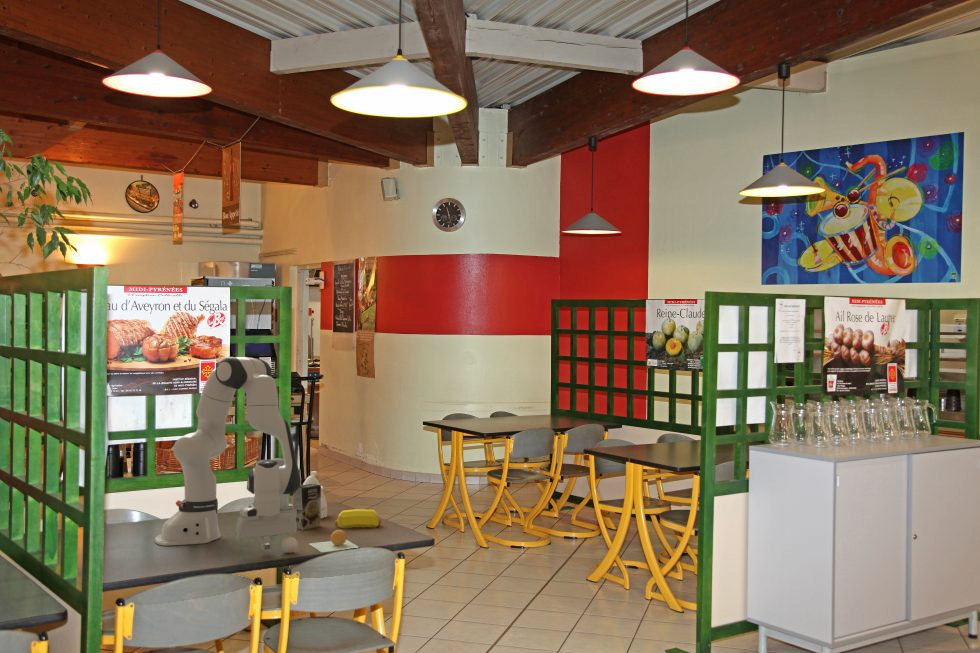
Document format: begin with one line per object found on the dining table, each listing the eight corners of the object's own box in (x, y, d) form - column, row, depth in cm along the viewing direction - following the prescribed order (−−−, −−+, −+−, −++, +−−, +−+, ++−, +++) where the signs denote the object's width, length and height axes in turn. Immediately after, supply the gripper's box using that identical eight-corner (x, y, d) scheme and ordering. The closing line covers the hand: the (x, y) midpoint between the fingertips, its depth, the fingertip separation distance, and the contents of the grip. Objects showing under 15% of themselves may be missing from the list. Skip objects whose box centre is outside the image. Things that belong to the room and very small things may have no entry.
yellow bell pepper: (381, 528, 346) (381, 524, 354) (381, 511, 346) (381, 507, 354) (334, 529, 343) (334, 525, 351) (334, 512, 343) (334, 508, 351)
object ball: (346, 548, 316) (332, 546, 313) (340, 544, 321) (326, 542, 318) (350, 532, 317) (336, 530, 314) (344, 529, 322) (330, 527, 319)
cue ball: (297, 542, 304) (298, 555, 306) (296, 532, 308) (297, 544, 311) (280, 545, 302) (282, 557, 305) (279, 534, 307) (281, 547, 309)
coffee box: (303, 530, 341) (303, 488, 341) (291, 528, 345) (292, 486, 345) (321, 526, 348) (321, 484, 348) (310, 524, 352) (310, 483, 352)
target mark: (321, 552, 307) (321, 552, 307) (308, 544, 319) (308, 543, 319) (359, 548, 314) (359, 547, 314) (345, 539, 326) (345, 539, 326)
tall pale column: (263, 511, 376) (263, 458, 376) (264, 509, 380) (265, 457, 380) (289, 511, 377) (289, 458, 377) (290, 509, 381) (290, 457, 381)
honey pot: (305, 512, 375) (306, 469, 375) (332, 514, 371) (333, 471, 371) (288, 518, 363) (289, 473, 363) (316, 520, 359) (317, 475, 359)
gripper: (294, 504, 313) (293, 543, 313) (234, 509, 303) (234, 550, 302) (299, 507, 307) (299, 547, 307) (239, 513, 297) (239, 554, 297)
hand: (266, 549), depth 305 cm, fingers closed
